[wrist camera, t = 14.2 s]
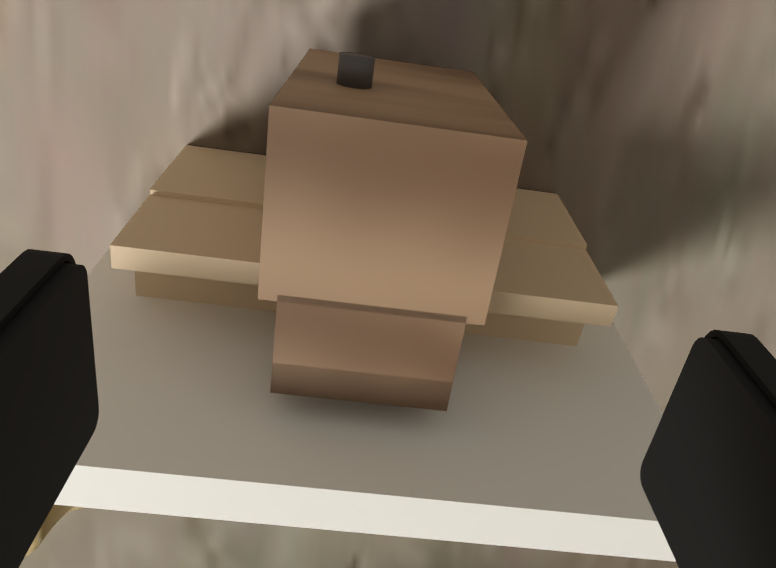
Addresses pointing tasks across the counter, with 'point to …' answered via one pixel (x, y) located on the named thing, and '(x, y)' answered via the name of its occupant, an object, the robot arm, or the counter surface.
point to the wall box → (381, 225)
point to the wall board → (358, 419)
